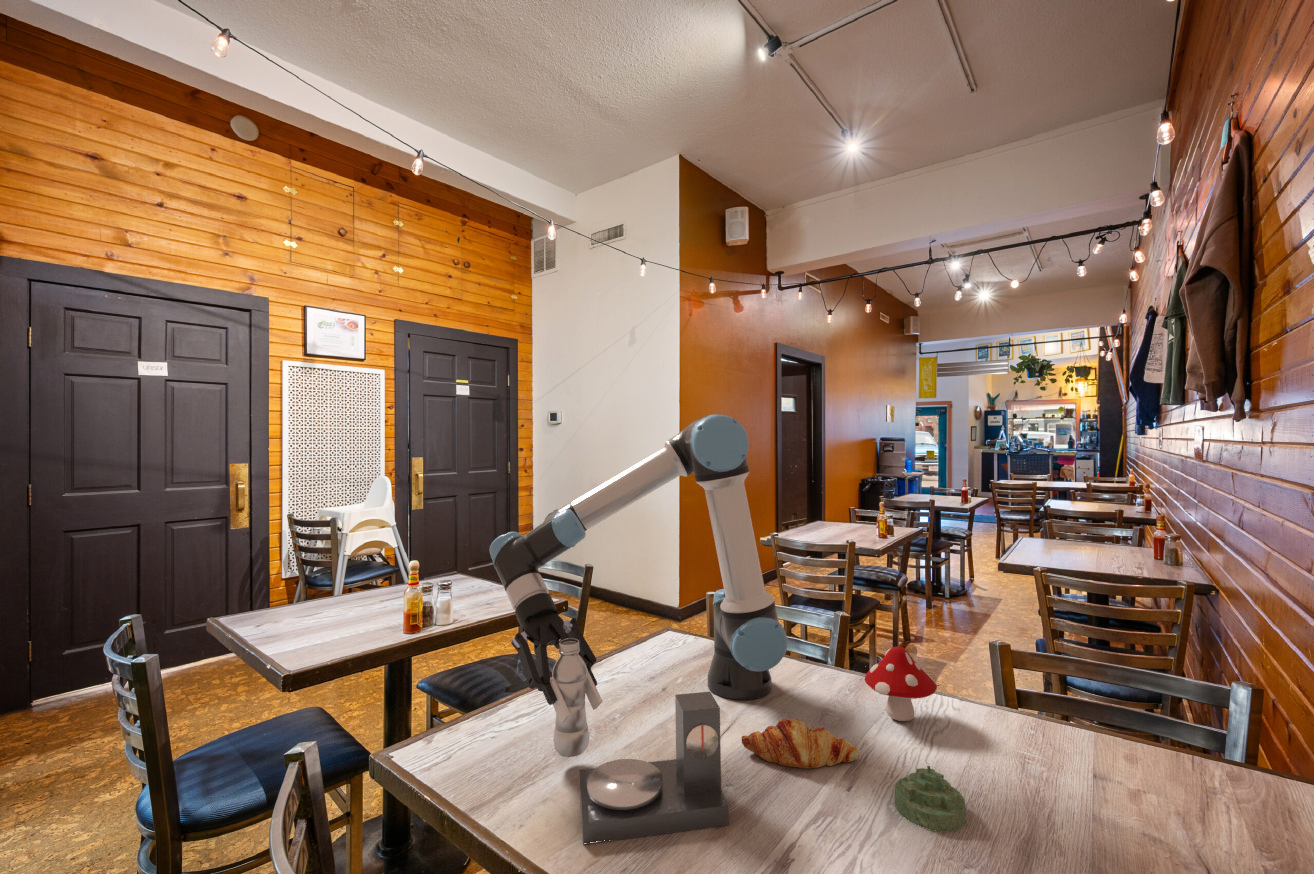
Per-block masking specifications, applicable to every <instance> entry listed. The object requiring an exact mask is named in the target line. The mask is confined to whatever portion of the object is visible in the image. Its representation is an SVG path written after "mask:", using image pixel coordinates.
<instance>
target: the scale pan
mask: <svg viewBox="0 0 1314 874" xmlns="http://www.w3.org/2000/svg"><path fill="white" fill-rule="evenodd" d="M648 762H649V761H646V760H642V759H637V758H620V759H614V760H610V761H607V762H605V763H602V764H600V765H599V766H597V767H595V768H596V769H594V770H593V771H592V772H591V774H590V775H589V777H588V780H587V791H588V795H589V797H590V798H591V799H592V800H593V801H594V802H595V803H596V804H598V805H600V806H602V807H605V808H608V809H614V810H630V809H636V808H640V807H643V806H645V805H647V804H649V803H651V802H653V801H654V800H655V799H656V798H657V797H658V796H659V795H660V793H661V791H662V788H663V778H662V774H661V772H660V771H659V769H658V768H657V767H655V766H654V765H652V764H650V763H648Z"/></svg>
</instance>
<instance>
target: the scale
mask: <svg viewBox="0 0 1314 874" xmlns="http://www.w3.org/2000/svg"><path fill="white" fill-rule="evenodd" d="M711 692H712V691H701V692H691V693H681V694H674V695H675V696H674V697H675V699H674V701H675V752H676V753H675V757H676V758H675V759H666V760H665V759H664V760H657V761H647V762H648V763H650V764H652V765H654V766H655V767H657V768H658V769H659V771H660V772H661V774H662V778H663V788H662V791H661V793H660V795H659V796H658V797H657V798H656V799H655V800H654V801H653V802H651V803H649V804H647V805H645V806H643V807H640V808H636V809H630V810H614V809H608V808H605V807H602V806H600V805H598V804H596V803H595V802H594V801H593V800H592V799H591V798H590V797H589V795H588V791H587V780H588V777H589V775H590V774H591V772H592V771H593V770H594V769H596V768H597V767H595V768H585V769H578V770H579V773H578V775H579V776H578V778H579V780H578V781H579V783H578V784H579V785H578V786H579V798H580V814H581V816H580V817H581V833H582V834H583V835H582V845H583V844H584V843H590V842H596V841H604V840H605V841H609V840H616V841H622V839H623V840H629V839H631V840H632V839H637V838H638V839H639V838H643V837H651V836H658V835H659V836H660V835H666V834H675V833H682V832H688V831H697V830H703V829H713V828H719V827H726V826H729V825H730V814H729V813H730V812H729V810H730V809H729V804H728V801H727V799H726V797H725V795H724V793H723V790H722V764H721V762H722V760H721V758H722V755H721V754H722V752H721V749H722V748H721V707H720V705H719V704H718V702H717V700H716V699H715V697H714V696H713V694H712V693H711ZM609 842H610V841H609Z"/></svg>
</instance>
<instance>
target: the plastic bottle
mask: <svg viewBox="0 0 1314 874" xmlns="http://www.w3.org/2000/svg"><path fill="white" fill-rule="evenodd" d="M559 641H560V640H559ZM579 652H580V648H579V640H578V639H574V638H570V637H568V639H564V640H561V641H560V642H559V649H558V654H559V657H558V659H557V660H556V662H555V664H554V665H553V667H552V671H551V674H552V676H551V677H552V681H554V680H555V681H556V683H557V686H558V688H559V690H560V692H561V695H562V697H563V699H564V701H565V704H566V706H567V708H568V710H569V713H570V716H569V717H568V718H567V720H566V721H565V722H564V723H560V720H559V718H558V716H557V713H556V712H555V725H554V732H553V744H554V749H555V751H556V752H557V754H558V755H559V756H561V757H565V758H574V757H578V756H580V755H582V754H583V753H584V752H586V750H587V749H588V747H589V742H590V730H589V726H588V722H587V712H586V693H585V690H586V680H587V667H586V664H585V662H584V661H583V659H582V658H581V657H580V655H579V654H578V653H579Z"/></svg>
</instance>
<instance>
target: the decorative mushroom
mask: <svg viewBox="0 0 1314 874" xmlns="http://www.w3.org/2000/svg"><path fill="white" fill-rule="evenodd" d="M864 682H865V683H866V684H867V686H869V687H870V688H871V689H872V690H873V691H875V692H876V693H878V694H880V695H882V696H883V695H885V696H888V698H887V702H886V704H885V705H886V706H885V711H886V715H888V716H889V717H890V718H891V719H893V720H894V721H899V722H908V721H911V720H912V719H914V718H915V708H914V706H913V705H914V704H913V702H912V700H915V699H924V698H927V697H930V696H932V695H933V694H934V693H936V692H937V688H938V685H937V683H936V681H935V679H933V677H932V676H930V675H929V674H927V673H926V672H925V671H924V669H922V668H921V667H920V665H919V664H918V663H917V662H916V661H915V660H914V658H913V657H912V655H911V654H910V653H909V652H908V650H906V648H904V647H901V646H894V647H890V648H888V649H887V650H886V651H885V654H884V657H882V659H881V660H879V661H878V662H877V663H875V664H874V665H873V666H872V667H871V668H870V669H869V670H868V671H867V672H866V673H865V675H864Z"/></svg>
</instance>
